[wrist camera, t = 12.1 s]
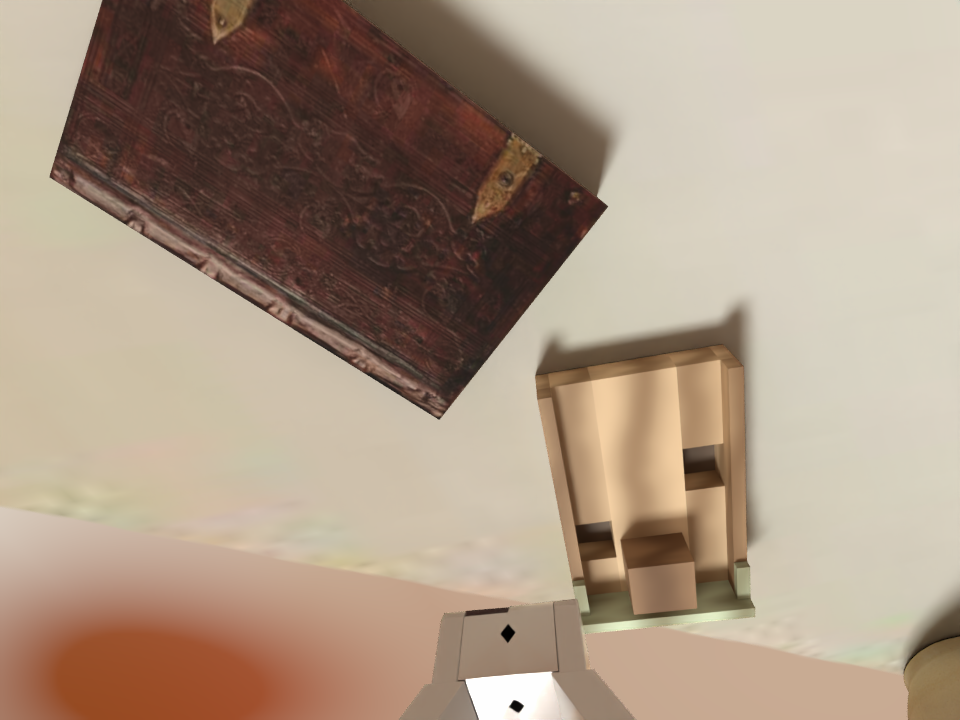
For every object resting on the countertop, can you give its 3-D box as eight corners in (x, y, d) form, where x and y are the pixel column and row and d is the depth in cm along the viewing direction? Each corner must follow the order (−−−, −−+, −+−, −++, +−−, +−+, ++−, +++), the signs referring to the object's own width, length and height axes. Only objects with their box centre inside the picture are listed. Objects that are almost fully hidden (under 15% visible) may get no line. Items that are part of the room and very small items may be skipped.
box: (722, 344, 39) (753, 376, 34) (730, 565, 48) (755, 616, 43) (535, 375, 41) (538, 409, 36) (574, 583, 50) (581, 634, 45)
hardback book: (100, 174, 37) (42, 182, 33) (202, -109, 30) (147, -150, 26) (444, 393, 43) (436, 425, 38) (596, 195, 36) (608, 206, 31)
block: (681, 532, 43) (694, 561, 41) (685, 577, 45) (697, 608, 42) (620, 539, 44) (627, 569, 41) (626, 583, 46) (633, 614, 43)
